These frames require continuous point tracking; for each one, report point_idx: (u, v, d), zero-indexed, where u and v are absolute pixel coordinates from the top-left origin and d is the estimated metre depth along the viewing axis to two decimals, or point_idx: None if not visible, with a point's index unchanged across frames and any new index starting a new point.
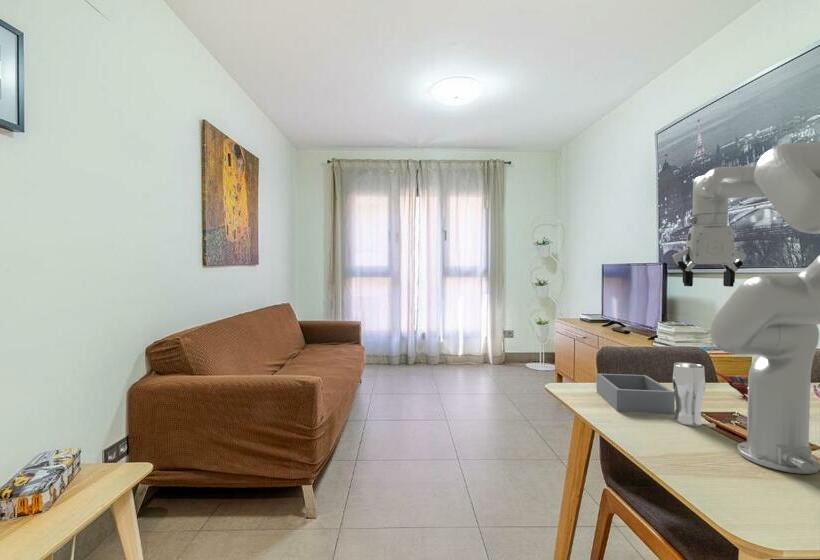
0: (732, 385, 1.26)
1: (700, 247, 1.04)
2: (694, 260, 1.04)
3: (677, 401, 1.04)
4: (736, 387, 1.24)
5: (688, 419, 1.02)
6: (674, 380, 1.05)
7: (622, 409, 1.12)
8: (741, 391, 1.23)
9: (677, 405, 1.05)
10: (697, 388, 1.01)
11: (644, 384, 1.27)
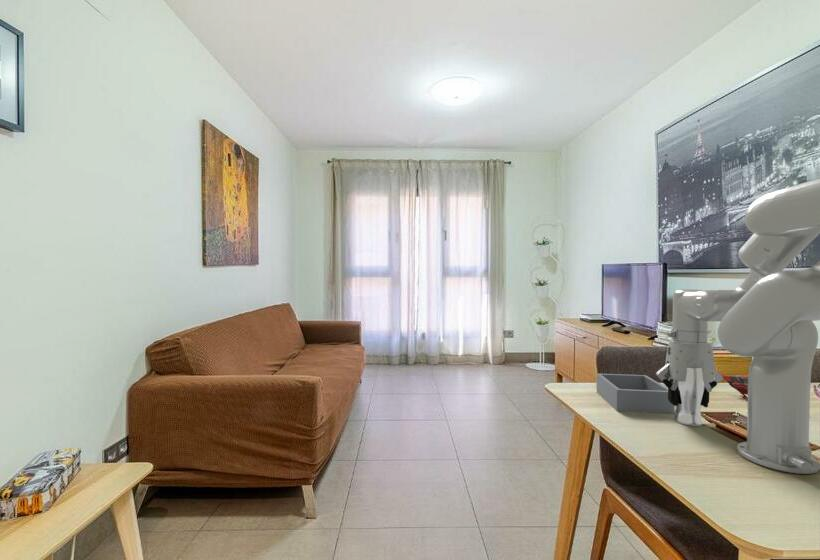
0: (732, 385, 1.26)
1: (680, 364, 1.02)
2: (674, 378, 1.02)
3: None
4: (736, 387, 1.24)
5: (688, 419, 1.02)
6: None
7: (622, 409, 1.12)
8: (741, 391, 1.23)
9: (677, 405, 1.05)
10: (697, 388, 1.01)
11: (644, 384, 1.27)
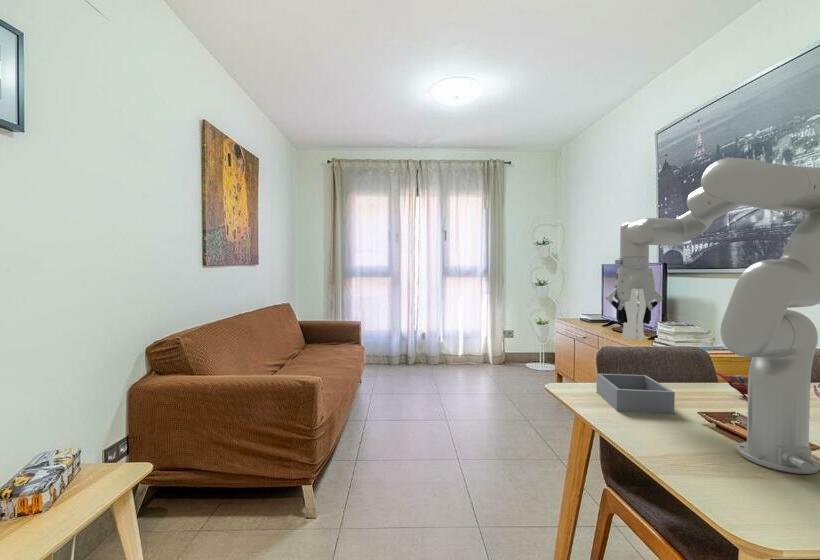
0: (732, 385, 1.26)
1: (625, 286, 1.17)
2: (620, 298, 1.18)
3: None
4: (736, 387, 1.24)
5: (632, 334, 1.18)
6: None
7: (622, 409, 1.12)
8: (741, 391, 1.23)
9: (624, 323, 1.20)
10: (639, 306, 1.16)
11: (644, 384, 1.27)
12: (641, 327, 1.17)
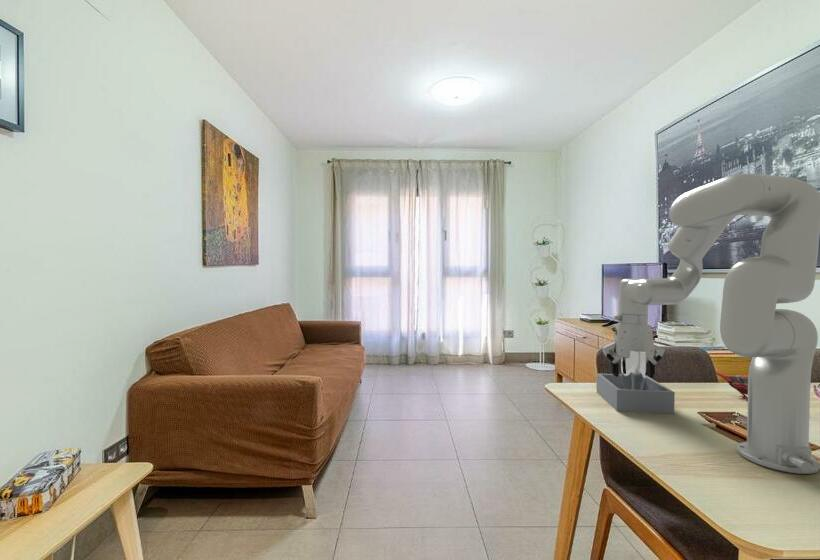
0: (732, 385, 1.26)
1: (624, 343, 1.18)
2: (619, 355, 1.18)
3: (623, 380, 1.20)
4: (736, 387, 1.24)
5: None
6: (621, 362, 1.20)
7: (622, 409, 1.12)
8: (741, 391, 1.23)
9: (623, 383, 1.21)
10: (639, 369, 1.17)
11: (644, 384, 1.27)
12: (641, 389, 1.18)
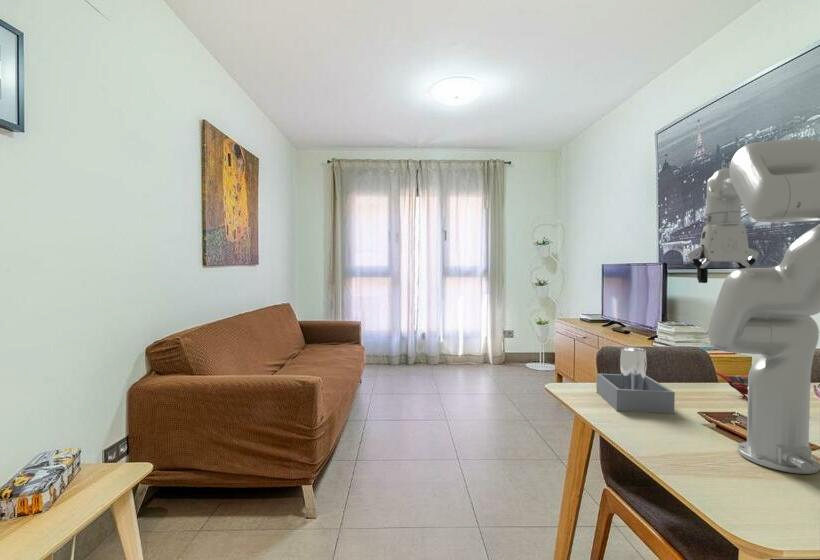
0: (732, 385, 1.26)
1: (715, 244, 1.07)
2: (709, 258, 1.08)
3: (623, 380, 1.20)
4: (736, 387, 1.24)
5: None
6: (620, 362, 1.21)
7: (622, 409, 1.12)
8: (741, 391, 1.23)
9: (623, 384, 1.21)
10: (638, 368, 1.17)
11: (644, 384, 1.27)
12: (640, 389, 1.18)
